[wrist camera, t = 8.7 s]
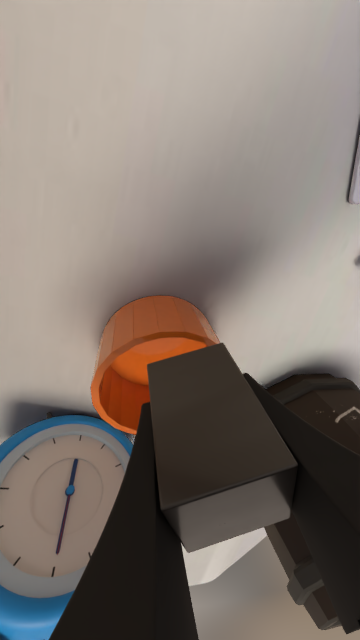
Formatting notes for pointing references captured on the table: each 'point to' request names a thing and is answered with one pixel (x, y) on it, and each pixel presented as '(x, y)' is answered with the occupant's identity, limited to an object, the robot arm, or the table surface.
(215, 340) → the cup
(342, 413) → the wooden barrel
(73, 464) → the alarm clock
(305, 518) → the robot arm
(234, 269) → the table surface
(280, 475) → the block
